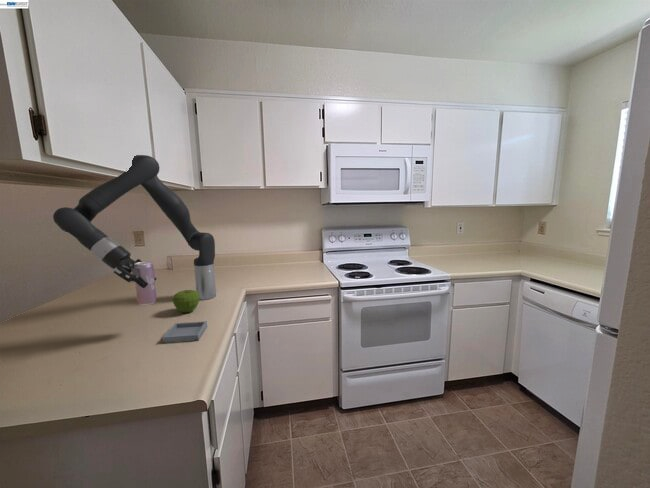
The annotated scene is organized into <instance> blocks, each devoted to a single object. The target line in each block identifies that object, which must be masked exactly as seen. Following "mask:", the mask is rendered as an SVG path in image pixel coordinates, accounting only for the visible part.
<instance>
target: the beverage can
mask: <svg viewBox="0 0 650 488" xmlns="http://www.w3.org/2000/svg"><path fill="white" fill-rule="evenodd" d="M134 269H135V270H136V273H137V274H138V276H139V277H141V278H142V279H143V280H145V281H146V282H147V283H148V285H147V286H146V287H145V288H142V287H141V286H139V285H138V284H137V283H136V282H134V283H135V290H136V300H137V304H138V305H139V306H149V305H152V304H155V303H156V302H157V299H158V298H157V288H156V280H155V278H156V277H155V271H154V264H153V261H142V262H138V263H135V264H134ZM154 277H155V278H154Z"/></svg>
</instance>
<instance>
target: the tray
mask: <svg viewBox="0 0 650 488" xmlns="http://www.w3.org/2000/svg"><path fill="white" fill-rule="evenodd" d="M207 328H208V321H206V320H203V321H189V322H175V323H174V324H173V325H172V326H171V327H170V329H168V331H167V332H166V333H165V334H164V335H163V336H162V338H161V339H162V343H163V344H171V342H173V343H182V342H183V343H184V342H196V341H200V339H201V337H202V336H203V334H204V332H205V331H206V329H207Z"/></svg>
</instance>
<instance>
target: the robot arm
mask: <svg viewBox="0 0 650 488" xmlns="http://www.w3.org/2000/svg"><path fill="white" fill-rule="evenodd" d="M135 155H136V156H134V158H133V160H132V166H131V167H130V168H129V170H128V171H127V170H126V171H127V172H125V171H124V172H123V173H121V174H120V175H118V176H116V177H114V178H112V179H111V180H108V181H105V182H104V183H101V184H100V185H98V186H96V187H95V188H93V189H91V190H90V191H89V192H87V193H86V194H85V195H83V196H82V197H81V198H80V199H79V200H78V204H77V205H76V206H75V207H74V208H72V207H66V206H65V207H64V206H63V207H60V208H58V209H56V210H55V211H54V213H53V215H52V219H53V221H54V223H55V224H56V226H58V228H60V229H61V230H62V231H63V232H65V233H68V234H69V235H71V236H73V237H74V238H75V239H76V240H77V241H78V242H79V244H81V245H82V246H83V247H85V248H86V249H87V250H89V252H91V253H92V254H93V255H94V256H95V257H96V258H98V259H99V260H101V262H103V263H104V264H105V265H107V266H108V267H109V268H110V269H113V270H114V271H113V273H114V274H115V275H116V276H117V277H119V278H121V279H123V280H124V281H125V282H127V283H131V282H132V283H135V282H136V283H137V284H138V285H139V286H141V287H142V288H145V287H146V286H147V285H148V283H147V282H146V281H145V280H143V279H142V278H141V277H139V276H138V274H137V273H136V270H135V269H134V264H135V263H138V262H143V261H142V260H141V259H140V258H137V259H136V260H134V259H132V258H131V252H129V251H128V250H127V249H126V248H125V247H124V246H122V245H121V244H119V243H118V242H117V241H116V240H114V238H113V239H112V238H111V237H110V236H108V235H107V234H106V233H104V232H103V231H102V230H100V229H99V228H97V227H96V226H95V225H94V224H93V223H91V222H92V221H93V220H94V219H95V218H96V217H97V215H98V214H99V213H101V212H103V211H104V210H105V209H107V208H108V207H109V206H111V205H112V204H113V203H114V202H116V201H117V200H118V199H120V198H121V197H123V196H124V195H126V194H127V193H129V192H130V191H131V190H133V189H135V188H137V187H138V186H140V185H141V187H143V189H145V190H146V192H147V193H148V194H149V196H150V197H151V198H152V199H153V200H154V202H155V203H156V204H157V206H158V207H159V209H161V211H162V212H163V214H164V215H165V216H166V217H167V218H168V219H169V220H170V222H172V224H173V225H174V226H175V228H176V229H177V230H178V231H179V232H180V234H181V235H182V237H183V239H184V240H185V241H186V243H187V245H188V246H189V248H191V249H192V250H194V251H197V252H198V257H196V258H193V259H194V260H193V267H194V268H193V269H194V271H193V272H194V283H195V291H197V292H198V293H199V295H200V299H199V301H200V300H203V301H205V300H206V301H207V300H211V299H214V298H215V297H217V292H216V291H217V289H216V275H215V258H216V242H215V237H214V236H213V234H211V233H209V232H200V231H199V230H198V229H197V228H196V226H194V224H193V223H192V220H191V215H190V211H189V210H190V209H189V208H188V207H187V205H186V204H185V203H184V201H183V200H182V198H181V197H180V196H178V194H176V192H174V191H173V190H172V189H171V188H169V187H168V186H167V185H165V184H164V183H163V182H162V181H161V179H160V177H158V174H159V172H160V164H159V162H158V161H157V159H156V158H154V157H152V156H150V155H145V154H144V155H143V154H135ZM154 278H155V281H157V278H156V276H154Z"/></svg>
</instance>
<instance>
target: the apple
mask: <svg viewBox="0 0 650 488" xmlns="http://www.w3.org/2000/svg"><path fill="white" fill-rule="evenodd" d="M199 299H200V295H199V293H198V292H197V291H196V290H194V289H185V290H181V291H177V292H176V293H175V294H174V295H173V298H172V303H173V306H174V307H175V308H176V310H177V311H179V312H181V313H191V312H193V311H195V309H197V307H198V305H199V302H200V300H199Z"/></svg>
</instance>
